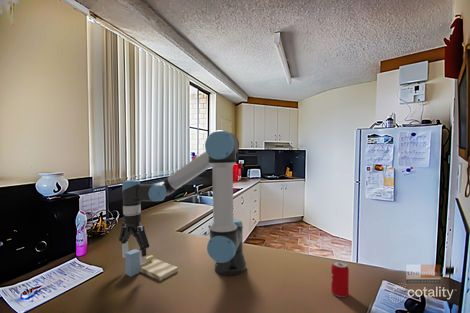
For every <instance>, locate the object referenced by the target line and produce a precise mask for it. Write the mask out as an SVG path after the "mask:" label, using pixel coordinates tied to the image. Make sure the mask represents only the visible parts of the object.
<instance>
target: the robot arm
mask: <svg viewBox="0 0 470 313" xmlns="http://www.w3.org/2000/svg"><path fill="white" fill-rule="evenodd" d="M204 147H205V148H204V149H205V151H204V152H202V153H201V154H200V155H199V156H197V157H196V158H194V159H192V160H191V161H189V162H188V163H187V164H184V165H183V166H182V167H181V168H179V169H178V170H176V171H175V172H173V173H171V174H170V175H169V176H167V177H166V178H164V179H163V180H161V181H158V182H155V183H151V184H150V183H148V184H143V183H141V181H140V180H139V179H127V180H124V181H123V182H122V183H121V185H122V187H121V188H122V190H121V192H122V193H121V195H122V202H123V203H122V215H123V216H122V218H123V222H122V223H121V229H120V233H119V237H118V241H119V242H120V243H121V246H122V247H121V248H122V249H121V250H122V258H125V252H128V251H130V250H129V238H130V237H131V235H132V236H133V237H134V238H135V239H136V242H137V245H138V246H139V249H138V250H139V253H140V264H143V263H146V257H147V249H149V248H150V243H149V240H148V237H147V234H146V231H145V225H140V222H141V221H142V213H141V212H142V207H141V202H161V201H164V200H165V198H166V197H168V196H171V195H172V194H173V193H174V192H175V191H176V190H178V189H179V188H181V187H183V186H184V185H186V184H187V183H188V182H190V181H191V180H194V178H196V177H198V176H199V175H200V174H202V173H204V172H206V170H208V169H210V168H212V174H211V175H212V217H213V218H212V221H213V222H212V224H211V225H210V226H209V240H208V241H207V245H206V251H207V254H208V256H209V258H211V259H212V260H213V261H215V262H214V270H215V271H216V272H217V273H218V274H220V275H223V276H237V275H240V274H242V273H244V272H245V271H246V269H247V262H246V259H245V255H244V252H243V245H244V244H243V239H244V238H243V233H244V232H243V228H244V226H243V221H241V220H239V219H234V178H233V176H234V175H233V172H234V171H233V170H234V169H233V167H234V165H236V163H237V155H236V154H237V153H238V151H239V149H240V141H239V139H238V137H237V136H236V135H235V134H233V133H231V132H228V131H226V130H222V129H221V130H215V131H213V132H211V133H210V134H209V135H208V136H207V138H206V140H205V143H204Z"/></svg>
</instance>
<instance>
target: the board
mask: <svg viewBox="0 0 470 313" xmlns="http://www.w3.org/2000/svg"><path fill="white" fill-rule="evenodd" d="M140 266H141V272H140V273H142V274H145V275H147V276H148V277H150V278H153V279H155V280H158V281H159V282H161V281H163V280H165V279H167V278H169V277H171V276H172V275H175V274H176V273H178V272H179V268H178V266H176V265H172V264H170V263H168V262H165V261H163V260H160V259H157V258H155V257H154V259H152V260H151V261H148V262H146V263H143V264H141V265H140Z"/></svg>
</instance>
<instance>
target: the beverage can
mask: <svg viewBox="0 0 470 313" xmlns="http://www.w3.org/2000/svg"><path fill="white" fill-rule="evenodd" d="M349 270H350V269H349V266H348V264H347V263H346V262H344V261H341V260H334V261H333V262H332V265H331V270H330V271H331V273H330V275H331V279H330V280H331V283H330V285H331V288H330V289H331V290H330V291H331V293H332V294H333V295H334V296H336V297H338V298H346V297H348V296H349V288H350V287H349V285H350V284H349V281H350V280H349V279H350V278H349V275H350V274H349V273H350V272H349Z"/></svg>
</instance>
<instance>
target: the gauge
mask: <svg viewBox="0 0 470 313" xmlns="http://www.w3.org/2000/svg"><path fill="white" fill-rule="evenodd" d="M124 258H125V261H124V262H125V263H124V264H125V275H126V276H129V277H130V278H131V277H133V276H135V275H138V274H140V273H142V272H141V266H140V265H141V264H140V253H139V249H137V248H134V249H131V250H129V251H128V252H125V257H124ZM154 258H155V257H154V255H152V254H150V255H148V256H147V255H146V262H148V261H151V260H152V259H154Z"/></svg>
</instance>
